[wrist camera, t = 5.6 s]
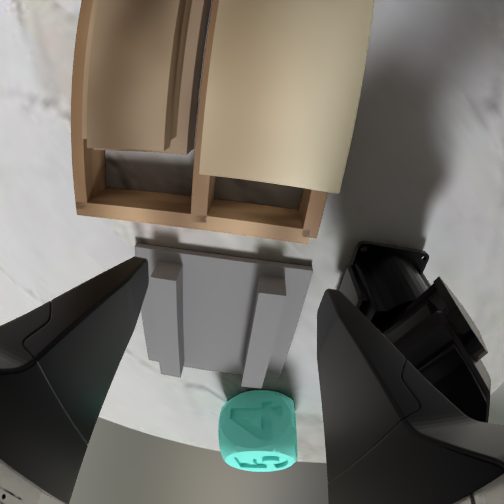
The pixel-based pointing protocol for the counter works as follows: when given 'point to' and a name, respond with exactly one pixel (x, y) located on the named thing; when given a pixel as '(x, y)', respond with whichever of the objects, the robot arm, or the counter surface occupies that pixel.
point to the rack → (203, 187)
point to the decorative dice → (258, 431)
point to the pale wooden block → (285, 90)
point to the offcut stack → (143, 74)
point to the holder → (220, 312)
